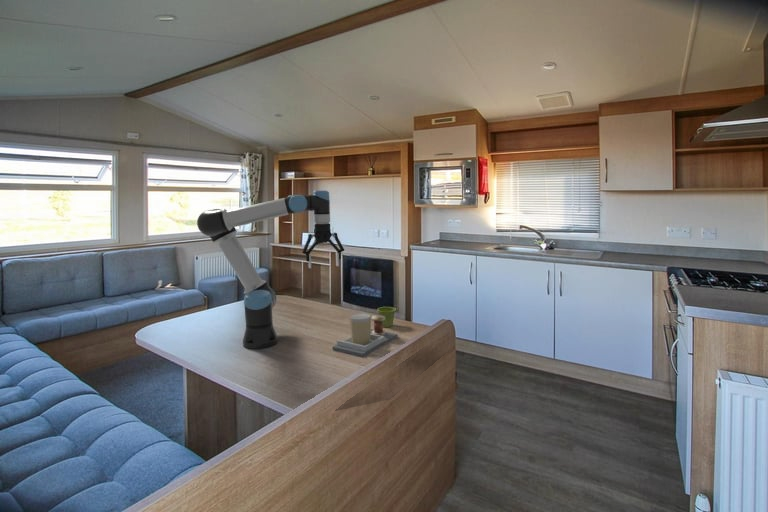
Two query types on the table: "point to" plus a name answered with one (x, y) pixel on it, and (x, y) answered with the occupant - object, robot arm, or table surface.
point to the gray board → (361, 350)
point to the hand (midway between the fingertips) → (324, 267)
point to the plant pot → (387, 315)
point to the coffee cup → (360, 328)
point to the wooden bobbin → (378, 325)
